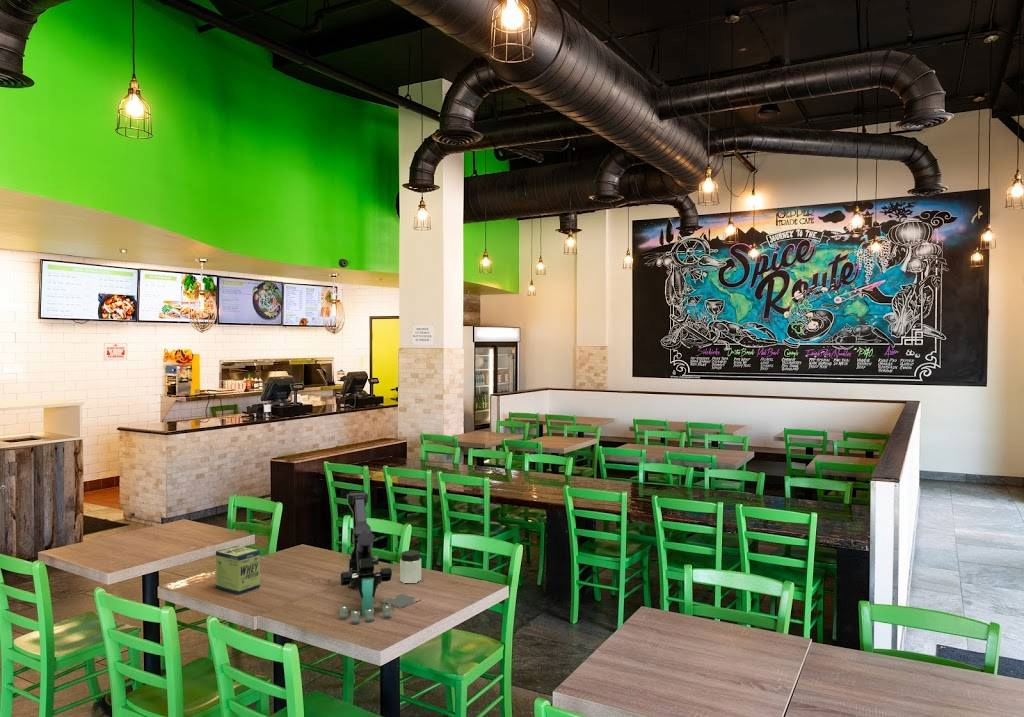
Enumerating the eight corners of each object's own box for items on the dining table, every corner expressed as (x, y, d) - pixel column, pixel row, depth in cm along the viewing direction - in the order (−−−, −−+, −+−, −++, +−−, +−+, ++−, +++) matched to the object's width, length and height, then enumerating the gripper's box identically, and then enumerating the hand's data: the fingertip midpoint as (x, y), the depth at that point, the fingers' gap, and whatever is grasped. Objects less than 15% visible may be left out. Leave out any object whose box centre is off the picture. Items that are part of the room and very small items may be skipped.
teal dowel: (359, 614, 260) (359, 579, 260) (368, 611, 263) (367, 576, 263) (367, 617, 257) (366, 581, 257) (375, 613, 260) (375, 578, 260)
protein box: (239, 595, 282) (239, 556, 282) (214, 588, 290) (214, 550, 290) (260, 587, 291) (260, 550, 291) (236, 581, 299) (236, 545, 299)
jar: (424, 581, 298) (424, 553, 298) (408, 585, 293) (407, 556, 293) (413, 576, 305) (413, 548, 305) (397, 580, 299) (396, 552, 299)
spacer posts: (336, 618, 256) (336, 607, 256) (365, 607, 267) (365, 597, 267) (364, 628, 247) (364, 616, 247) (393, 616, 258) (393, 605, 258)
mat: (380, 602, 272) (380, 601, 272) (401, 594, 281) (401, 593, 281) (400, 608, 266) (400, 607, 266) (421, 600, 275) (421, 599, 275)
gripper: (340, 550, 261) (342, 589, 250) (391, 546, 267) (395, 584, 256) (339, 565, 268) (341, 604, 258) (388, 561, 274) (392, 598, 264)
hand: (367, 597), depth 259 cm, fingers closed on teal dowel, 4 cm apart
